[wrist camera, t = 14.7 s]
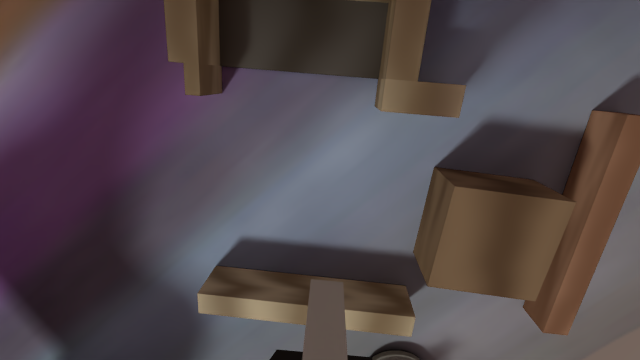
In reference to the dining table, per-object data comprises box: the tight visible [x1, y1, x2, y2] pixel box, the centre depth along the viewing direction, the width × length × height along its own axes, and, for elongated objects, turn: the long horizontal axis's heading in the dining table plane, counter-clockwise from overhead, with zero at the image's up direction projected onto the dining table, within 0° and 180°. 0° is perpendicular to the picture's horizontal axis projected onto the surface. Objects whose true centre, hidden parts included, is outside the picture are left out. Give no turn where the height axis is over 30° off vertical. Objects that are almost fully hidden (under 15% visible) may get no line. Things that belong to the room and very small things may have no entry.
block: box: [413, 167, 576, 301], centre depth 24 cm, size 8×8×5 cm
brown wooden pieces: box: [164, 0, 640, 337], centre depth 23 cm, size 32×27×4 cm
